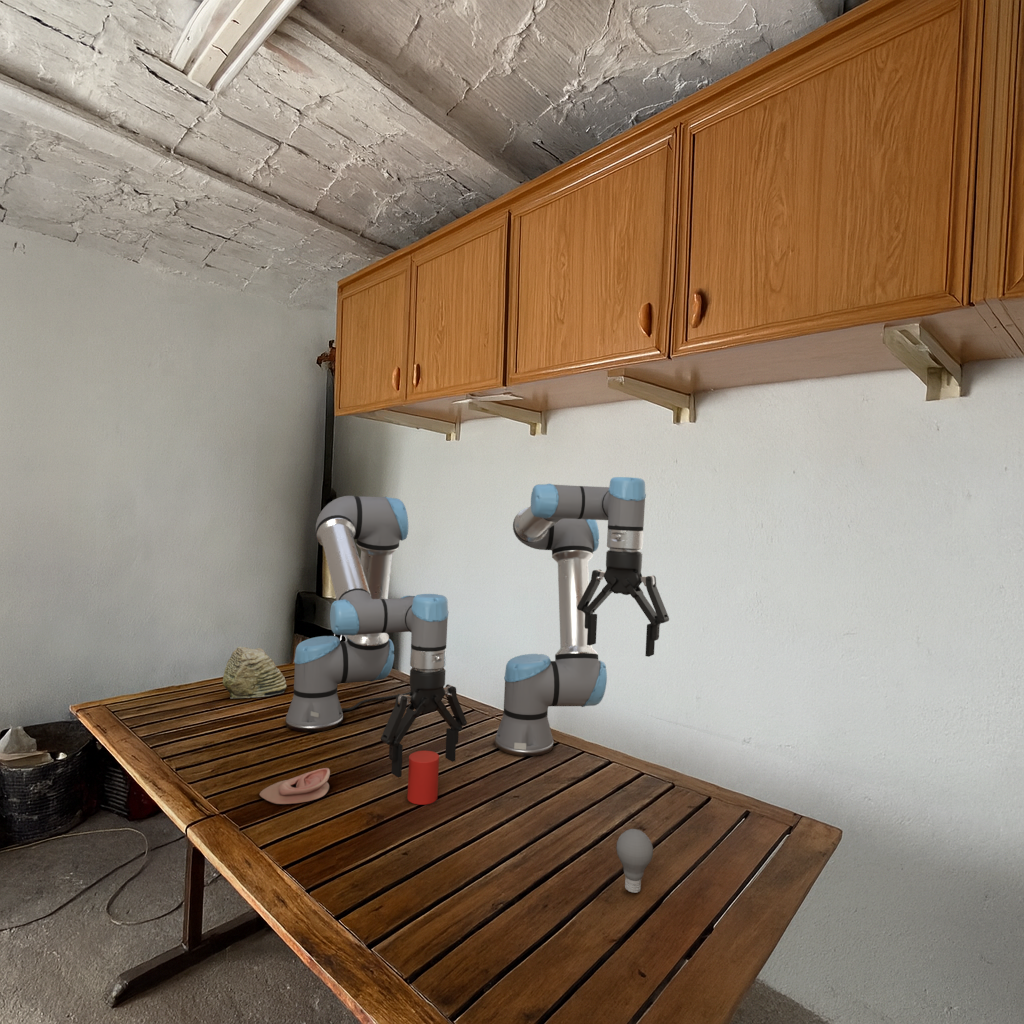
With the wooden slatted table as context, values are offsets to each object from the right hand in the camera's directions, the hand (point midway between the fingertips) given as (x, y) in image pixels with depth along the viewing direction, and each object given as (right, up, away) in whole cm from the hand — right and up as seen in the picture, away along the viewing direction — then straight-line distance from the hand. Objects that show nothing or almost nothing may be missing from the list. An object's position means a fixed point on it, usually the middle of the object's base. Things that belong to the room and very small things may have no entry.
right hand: (619, 649), depth 135 cm
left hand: (-42, -25, 0) cm, 49 cm away
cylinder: (-42, -32, +1) cm, 53 cm away
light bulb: (-3, -34, -29) cm, 45 cm away
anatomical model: (-69, -31, 0) cm, 76 cm away
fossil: (-104, -28, +63) cm, 125 cm away
